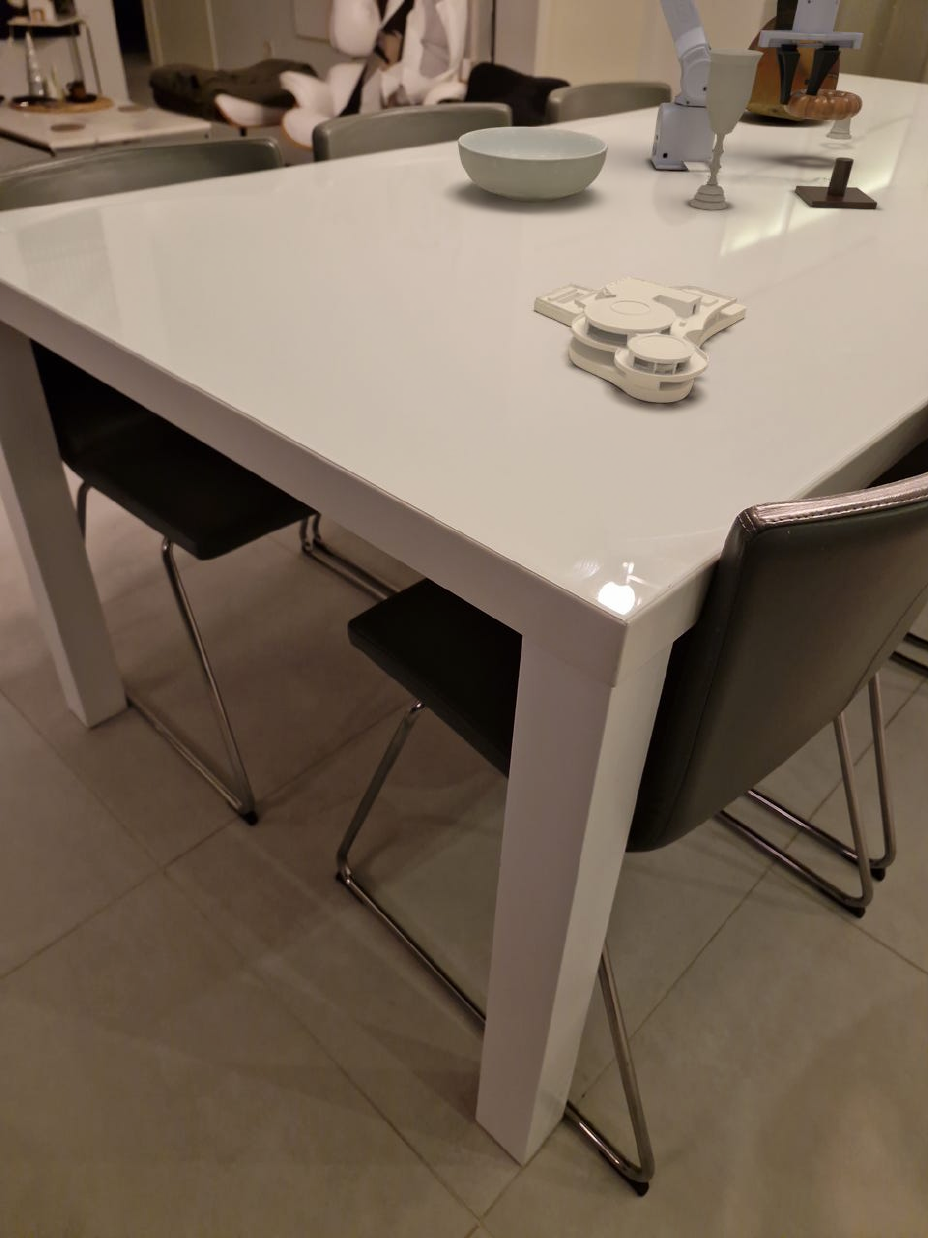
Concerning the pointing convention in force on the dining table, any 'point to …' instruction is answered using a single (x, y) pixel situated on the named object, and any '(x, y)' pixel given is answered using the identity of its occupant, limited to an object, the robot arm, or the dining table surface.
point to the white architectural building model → (641, 332)
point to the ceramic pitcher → (768, 73)
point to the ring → (824, 105)
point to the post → (837, 190)
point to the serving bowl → (532, 161)
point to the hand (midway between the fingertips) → (795, 104)
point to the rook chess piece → (840, 130)
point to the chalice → (725, 110)
